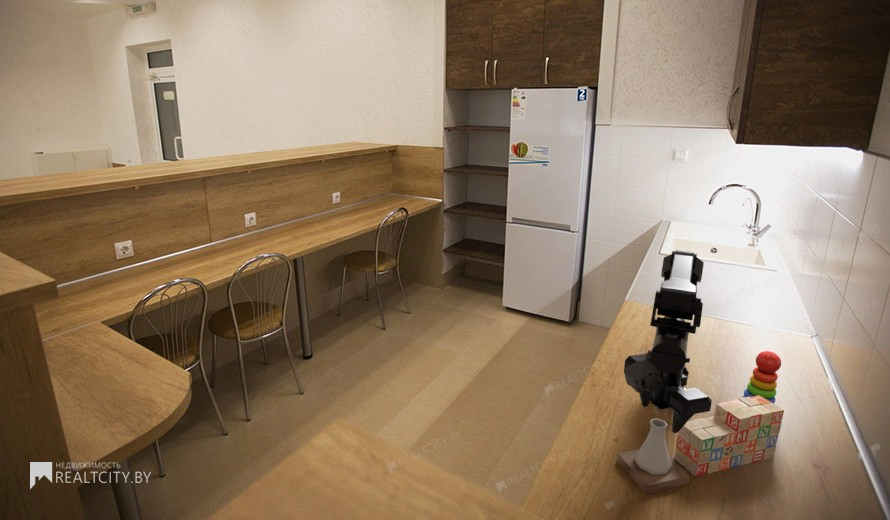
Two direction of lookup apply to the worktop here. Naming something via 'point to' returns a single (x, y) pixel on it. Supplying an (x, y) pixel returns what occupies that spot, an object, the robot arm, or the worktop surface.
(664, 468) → the flask
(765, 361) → the stacking toy
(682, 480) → the plinth
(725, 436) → the stack of blocks
